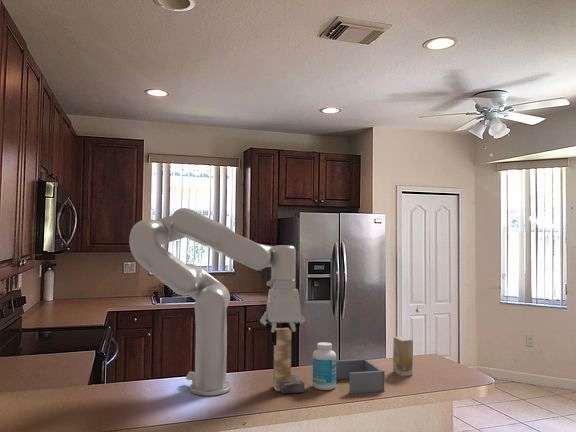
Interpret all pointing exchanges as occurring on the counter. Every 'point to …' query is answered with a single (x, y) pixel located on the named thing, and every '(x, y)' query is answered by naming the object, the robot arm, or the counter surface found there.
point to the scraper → (284, 364)
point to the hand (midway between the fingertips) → (282, 343)
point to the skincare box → (403, 356)
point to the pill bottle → (324, 367)
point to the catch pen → (360, 375)
